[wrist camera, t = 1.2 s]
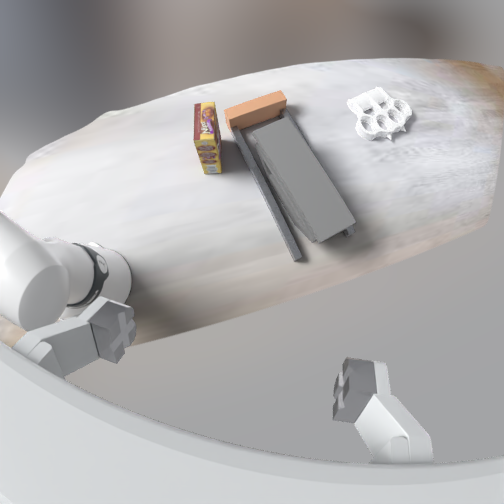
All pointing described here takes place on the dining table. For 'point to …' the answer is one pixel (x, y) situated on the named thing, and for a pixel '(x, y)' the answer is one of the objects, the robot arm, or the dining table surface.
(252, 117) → the end stop
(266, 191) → the guide track
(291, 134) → the sharpening stone
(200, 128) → the candy box
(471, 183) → the dining table surface
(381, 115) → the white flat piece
